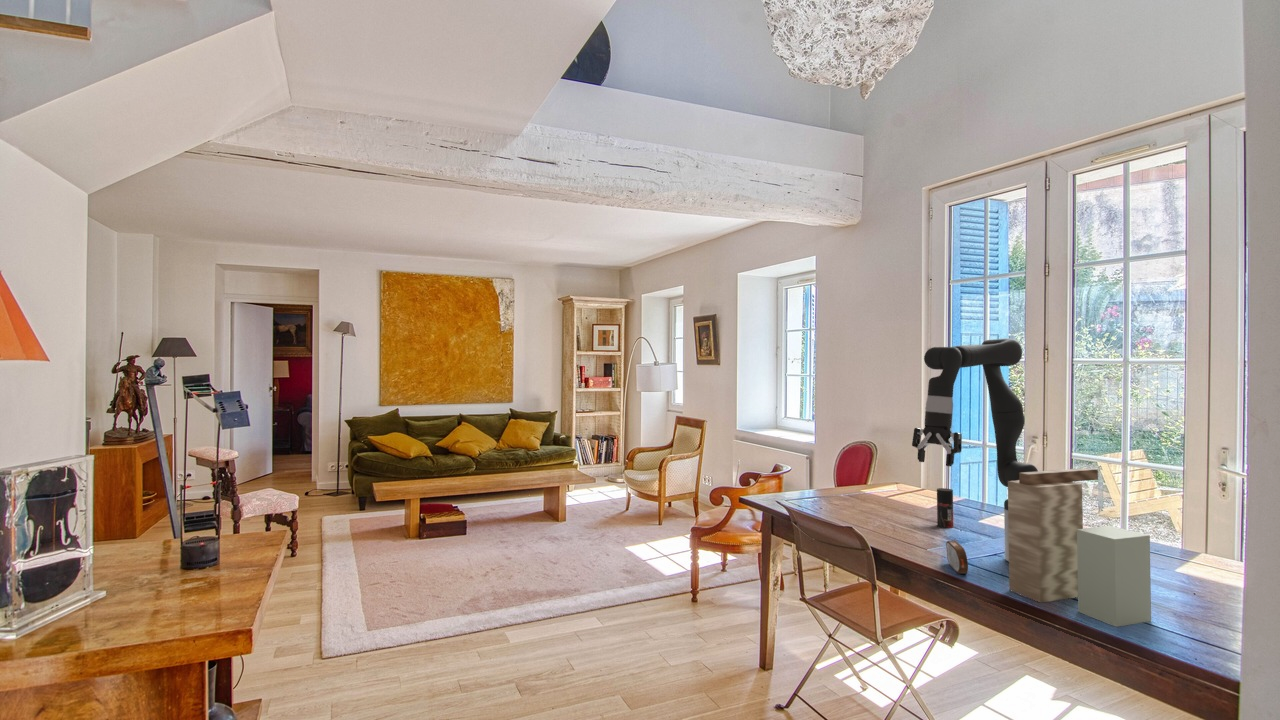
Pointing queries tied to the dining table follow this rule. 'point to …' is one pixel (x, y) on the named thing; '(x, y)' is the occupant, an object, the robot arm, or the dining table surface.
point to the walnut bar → (1058, 476)
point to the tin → (957, 557)
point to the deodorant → (945, 508)
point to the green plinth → (1114, 575)
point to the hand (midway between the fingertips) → (934, 464)
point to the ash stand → (1044, 539)
